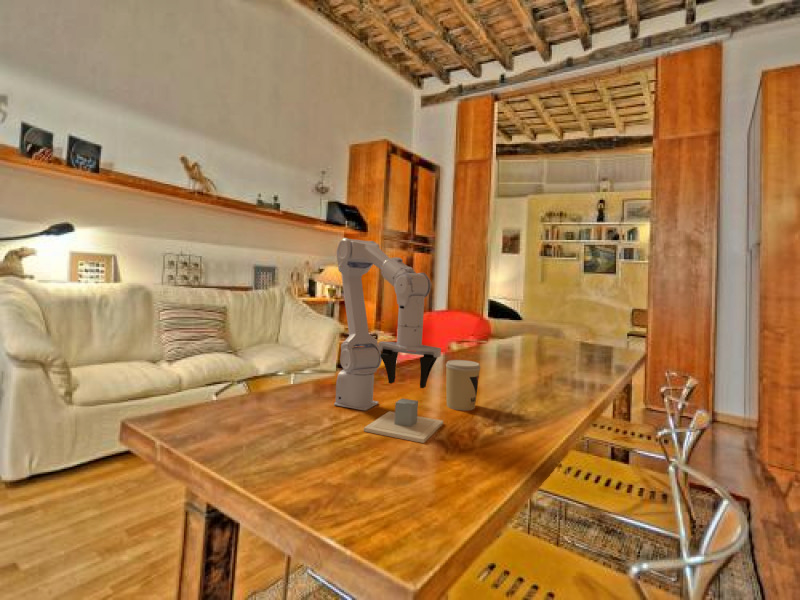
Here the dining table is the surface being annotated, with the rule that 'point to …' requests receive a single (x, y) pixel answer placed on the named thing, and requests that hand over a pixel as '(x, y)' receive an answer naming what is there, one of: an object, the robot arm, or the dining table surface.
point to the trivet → (404, 428)
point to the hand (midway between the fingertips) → (407, 384)
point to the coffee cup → (461, 384)
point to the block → (406, 412)
